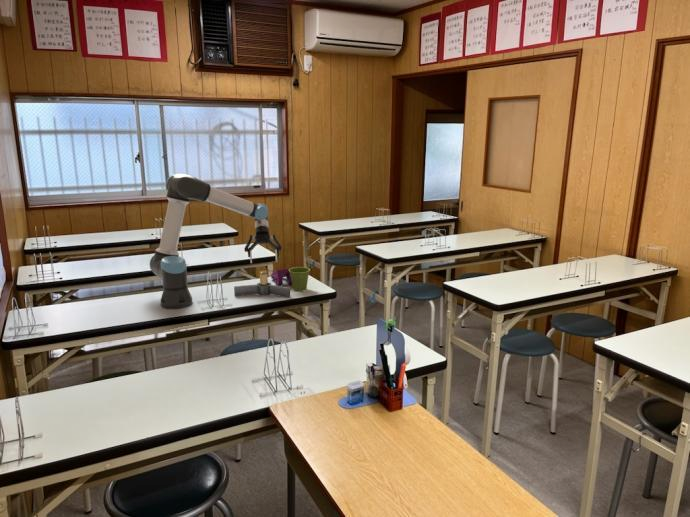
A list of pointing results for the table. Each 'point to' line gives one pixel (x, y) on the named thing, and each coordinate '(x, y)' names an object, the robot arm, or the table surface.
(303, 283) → the plant pot
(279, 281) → the purple irregular piece
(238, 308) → the table surface
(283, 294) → the steel hinge
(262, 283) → the hinge pin
